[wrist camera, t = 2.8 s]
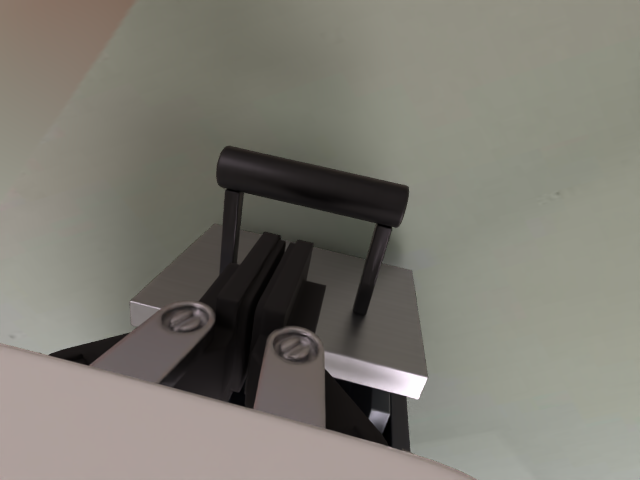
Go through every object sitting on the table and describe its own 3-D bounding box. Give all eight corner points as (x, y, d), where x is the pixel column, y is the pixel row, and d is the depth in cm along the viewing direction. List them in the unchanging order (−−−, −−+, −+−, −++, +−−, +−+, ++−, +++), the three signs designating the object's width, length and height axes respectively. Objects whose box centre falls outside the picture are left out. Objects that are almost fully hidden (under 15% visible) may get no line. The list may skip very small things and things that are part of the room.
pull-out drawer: (220, 118, 18) (119, 148, 11) (448, 167, 17) (491, 233, 10) (204, 398, 27) (142, 512, 20) (353, 438, 26) (343, 570, 19)
